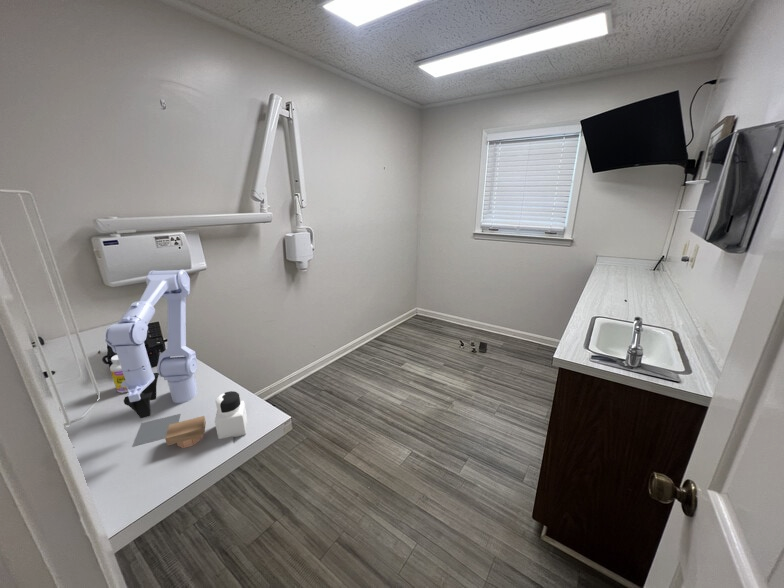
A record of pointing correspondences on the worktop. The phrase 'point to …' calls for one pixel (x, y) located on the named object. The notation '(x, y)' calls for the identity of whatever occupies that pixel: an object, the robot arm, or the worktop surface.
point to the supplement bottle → (117, 374)
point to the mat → (154, 430)
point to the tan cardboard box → (185, 430)
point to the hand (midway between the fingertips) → (148, 407)
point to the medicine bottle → (230, 415)
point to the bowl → (189, 442)
